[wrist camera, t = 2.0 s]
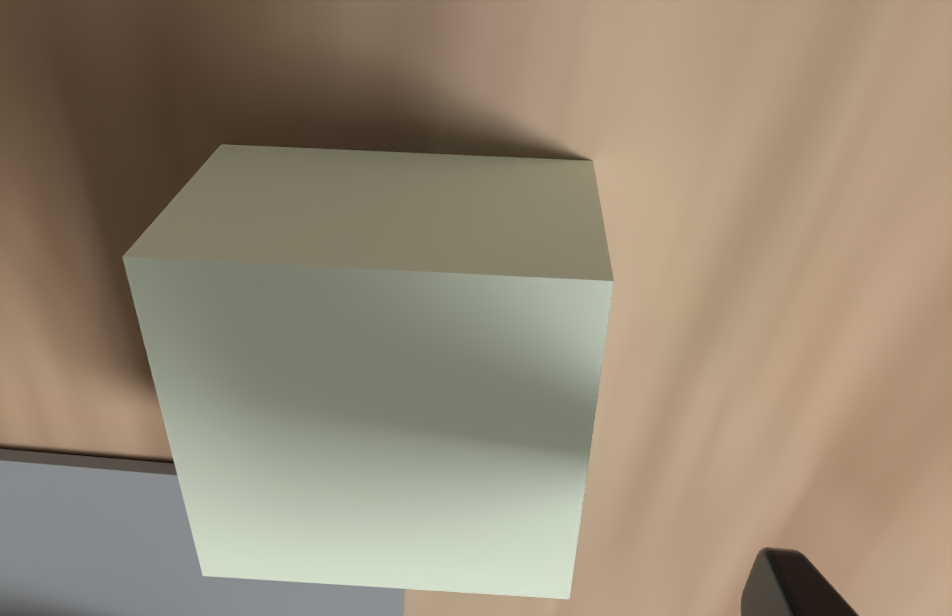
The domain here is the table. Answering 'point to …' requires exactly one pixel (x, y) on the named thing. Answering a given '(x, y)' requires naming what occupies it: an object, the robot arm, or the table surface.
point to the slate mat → (131, 549)
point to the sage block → (379, 364)
